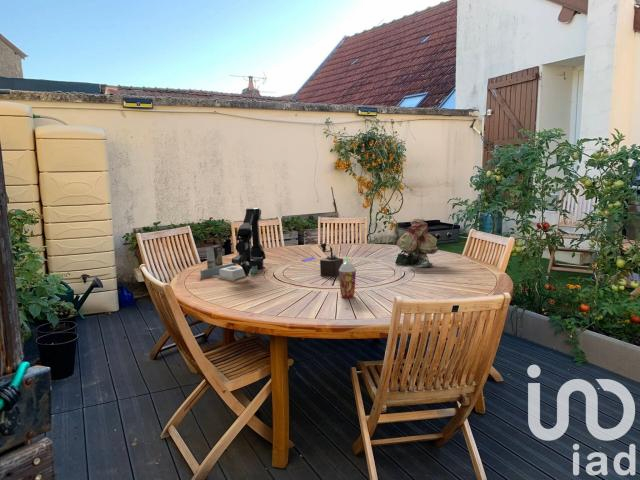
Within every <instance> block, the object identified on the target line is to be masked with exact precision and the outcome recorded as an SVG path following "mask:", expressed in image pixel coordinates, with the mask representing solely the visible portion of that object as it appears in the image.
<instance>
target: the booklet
mask: <svg viewBox="0 0 640 480" xmlns="http://www.w3.org/2000/svg"><path fill="white" fill-rule="evenodd" d="M316 259H318V258H317V257H309V258H308V257H307V258H303V259H301V261H303V262H309V261H313V260H316Z"/></svg>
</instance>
